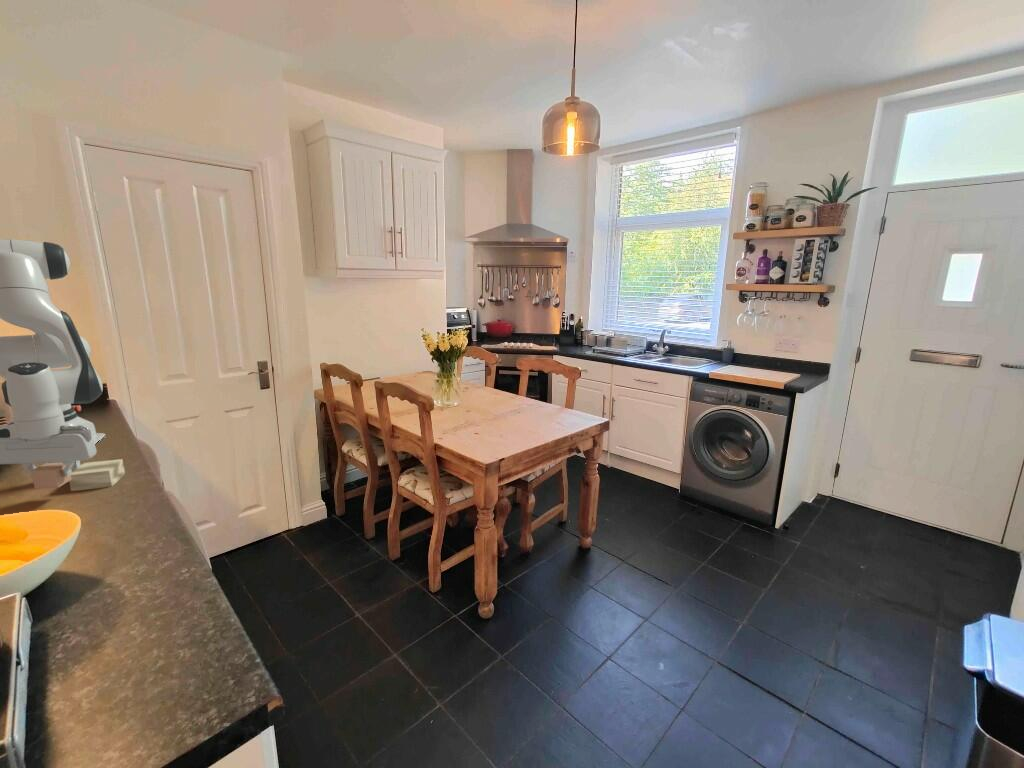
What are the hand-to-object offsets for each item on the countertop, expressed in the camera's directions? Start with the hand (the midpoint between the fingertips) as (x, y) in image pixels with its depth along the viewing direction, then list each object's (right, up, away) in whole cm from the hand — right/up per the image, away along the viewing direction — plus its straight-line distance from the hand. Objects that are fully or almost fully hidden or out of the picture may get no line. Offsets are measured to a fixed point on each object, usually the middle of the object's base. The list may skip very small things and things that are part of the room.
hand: (52, 476), depth 118 cm
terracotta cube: (0, -2, 0) cm, 2 cm away
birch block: (+2, -4, +12) cm, 13 cm away
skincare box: (-9, -4, +13) cm, 16 cm away
